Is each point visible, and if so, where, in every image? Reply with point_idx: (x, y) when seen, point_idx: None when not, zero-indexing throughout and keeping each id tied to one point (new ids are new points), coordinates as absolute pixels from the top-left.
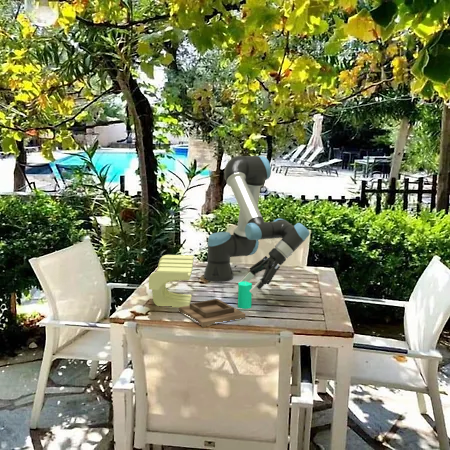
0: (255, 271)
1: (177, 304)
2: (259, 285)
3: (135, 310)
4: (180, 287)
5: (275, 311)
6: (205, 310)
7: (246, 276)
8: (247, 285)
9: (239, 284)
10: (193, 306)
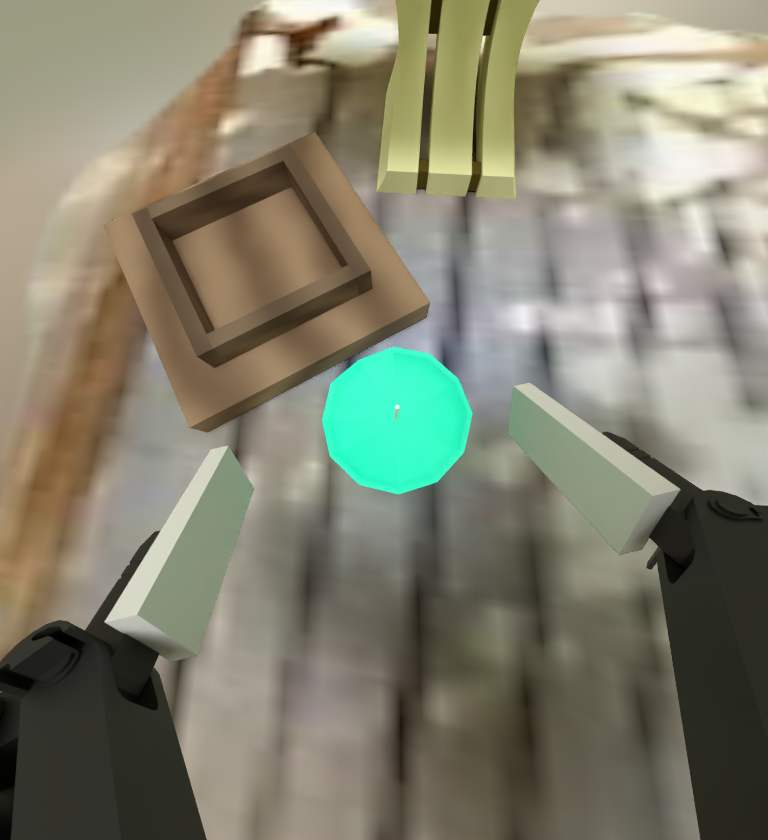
0: (684, 598)
1: (387, 138)
2: (128, 569)
3: (343, 28)
4: (674, 150)
5: (302, 630)
6: (260, 234)
7: (573, 438)
8: (330, 434)
9: (374, 358)
10: (255, 163)
